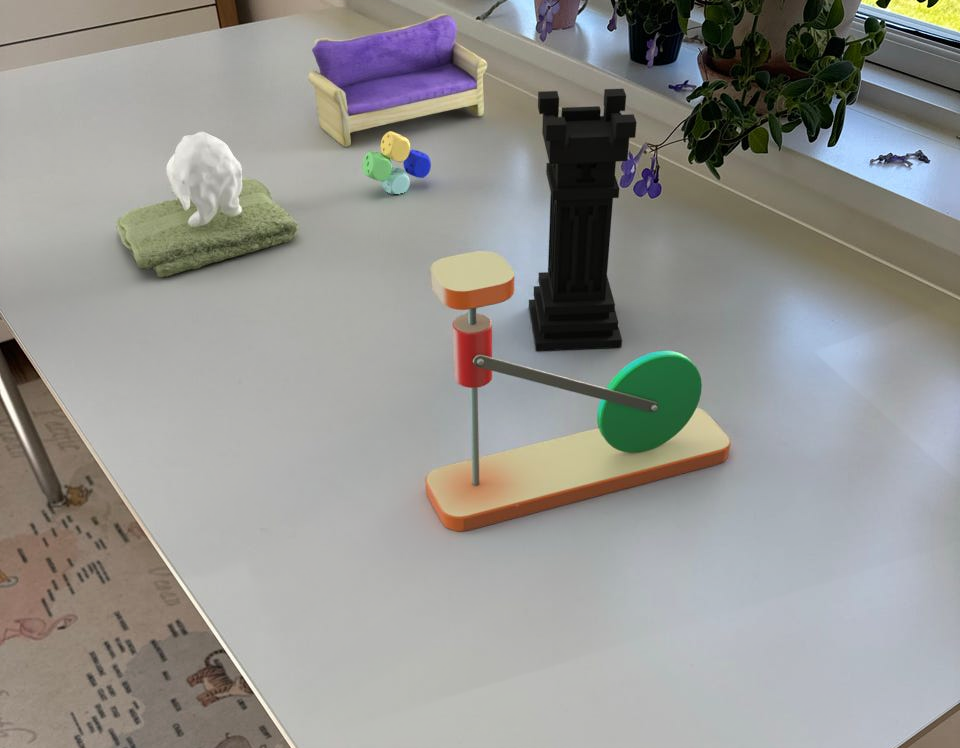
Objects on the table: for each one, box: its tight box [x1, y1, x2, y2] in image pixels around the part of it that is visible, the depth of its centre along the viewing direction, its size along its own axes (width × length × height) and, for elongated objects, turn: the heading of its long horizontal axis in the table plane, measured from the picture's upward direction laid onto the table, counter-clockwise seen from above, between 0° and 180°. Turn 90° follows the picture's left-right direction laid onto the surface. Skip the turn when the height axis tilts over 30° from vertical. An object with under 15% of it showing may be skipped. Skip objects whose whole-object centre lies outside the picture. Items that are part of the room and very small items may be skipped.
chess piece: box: [528, 88, 638, 352], centre depth 92 cm, size 8×8×20 cm
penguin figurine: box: [166, 131, 243, 227], centre depth 108 cm, size 6×8×12 cm
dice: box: [361, 130, 432, 195], centre depth 118 cm, size 8×3×6 cm, turn 120°
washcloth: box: [114, 177, 299, 278], centre depth 112 cm, size 13×18×3 cm
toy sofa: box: [308, 12, 488, 148], centre depth 131 cm, size 21×9×10 cm, turn 118°
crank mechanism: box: [425, 250, 731, 532], centre depth 77 cm, size 25×7×19 cm, turn 111°
